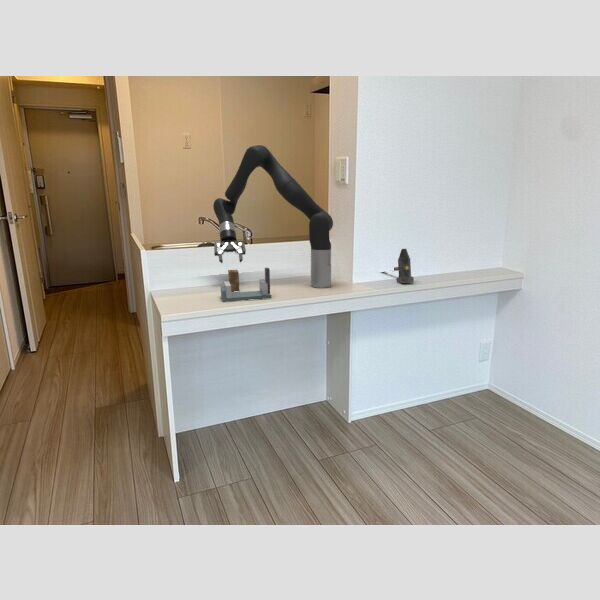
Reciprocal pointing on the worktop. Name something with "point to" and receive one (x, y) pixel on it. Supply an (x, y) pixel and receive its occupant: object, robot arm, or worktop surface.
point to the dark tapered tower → (404, 268)
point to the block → (234, 280)
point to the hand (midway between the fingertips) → (231, 261)
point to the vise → (240, 294)
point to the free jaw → (265, 283)
